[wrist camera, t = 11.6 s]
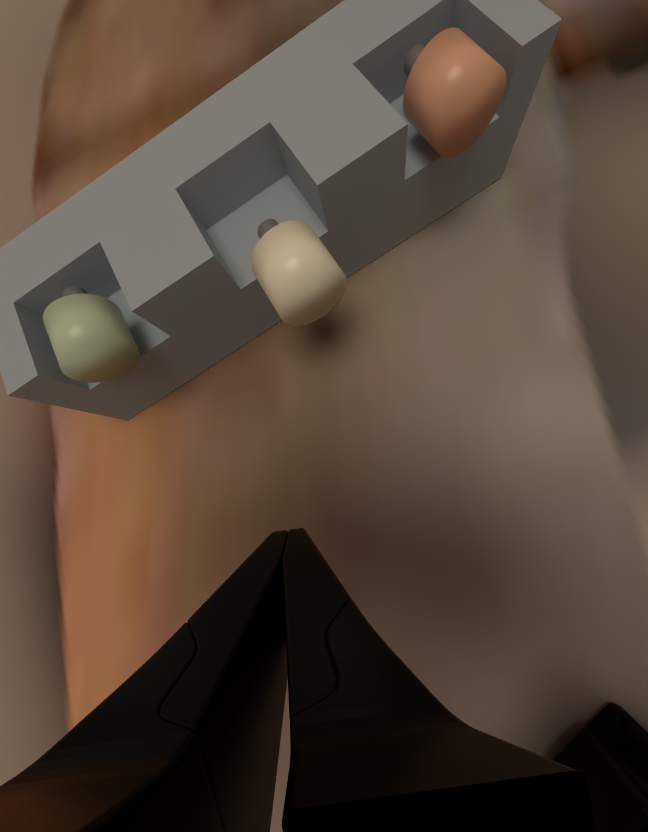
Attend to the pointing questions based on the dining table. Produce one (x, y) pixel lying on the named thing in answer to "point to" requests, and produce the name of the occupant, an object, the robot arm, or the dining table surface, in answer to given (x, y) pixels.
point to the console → (259, 194)
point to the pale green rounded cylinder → (90, 337)
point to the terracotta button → (451, 91)
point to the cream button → (296, 271)
